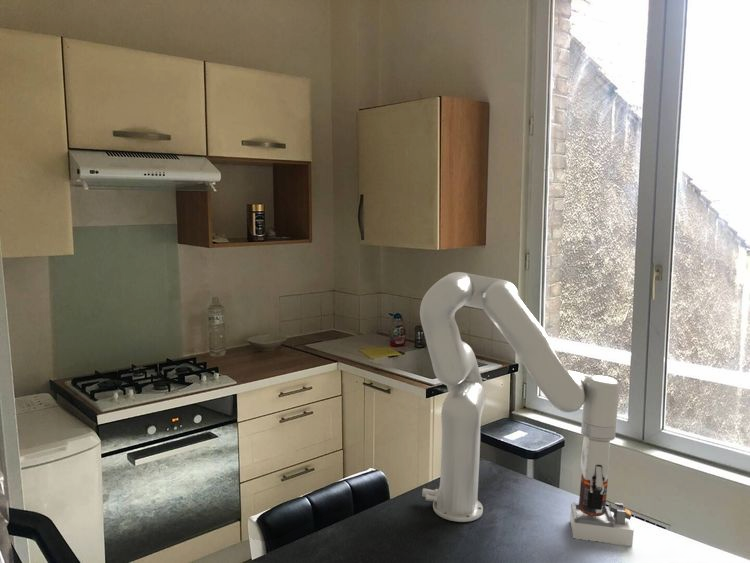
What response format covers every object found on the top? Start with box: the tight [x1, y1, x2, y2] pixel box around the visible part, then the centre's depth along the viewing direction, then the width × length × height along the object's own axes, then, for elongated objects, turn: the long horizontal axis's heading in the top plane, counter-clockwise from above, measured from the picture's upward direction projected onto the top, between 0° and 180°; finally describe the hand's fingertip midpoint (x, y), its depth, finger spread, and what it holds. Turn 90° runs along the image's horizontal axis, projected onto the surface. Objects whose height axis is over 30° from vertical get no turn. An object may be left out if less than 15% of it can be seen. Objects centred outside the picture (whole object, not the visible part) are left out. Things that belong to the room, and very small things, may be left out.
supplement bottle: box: [578, 473, 609, 516], centre depth 145 cm, size 6×6×11 cm
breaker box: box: [569, 502, 635, 547], centre depth 146 cm, size 13×8×7 cm, turn 78°
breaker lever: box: [607, 502, 632, 521], centre depth 145 cm, size 5×2×1 cm, turn 78°
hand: (592, 500), depth 146 cm, fingers closed on supplement bottle, 6 cm apart
